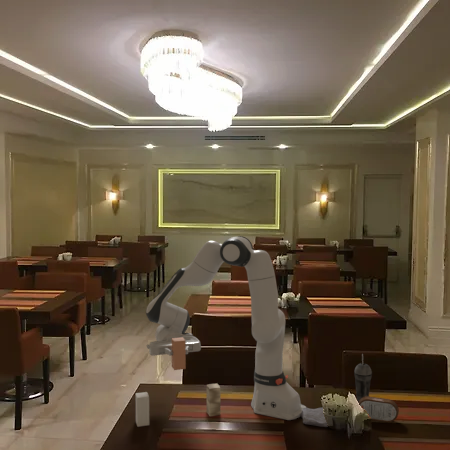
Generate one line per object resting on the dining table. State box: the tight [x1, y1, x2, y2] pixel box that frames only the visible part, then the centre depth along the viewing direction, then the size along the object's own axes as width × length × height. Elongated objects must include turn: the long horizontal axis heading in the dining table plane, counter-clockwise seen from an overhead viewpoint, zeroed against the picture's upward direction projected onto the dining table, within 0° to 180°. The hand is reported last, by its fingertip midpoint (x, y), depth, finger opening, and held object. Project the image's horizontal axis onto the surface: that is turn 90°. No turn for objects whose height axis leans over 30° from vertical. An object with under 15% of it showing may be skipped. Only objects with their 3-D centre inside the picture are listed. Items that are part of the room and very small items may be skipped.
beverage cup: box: [353, 353, 373, 402], centre depth 216 cm, size 7×7×20 cm
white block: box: [135, 391, 150, 428], centre depth 194 cm, size 4×4×11 cm
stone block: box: [300, 407, 329, 428], centre depth 196 cm, size 12×5×10 cm
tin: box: [357, 395, 400, 423], centre depth 198 cm, size 15×3×8 cm, turn 71°
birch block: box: [206, 382, 221, 417], centre depth 203 cm, size 4×4×11 cm
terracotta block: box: [171, 337, 187, 371], centre depth 197 cm, size 4×4×11 cm
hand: (179, 352), depth 196 cm, fingers closed on terracotta block, 4 cm apart
